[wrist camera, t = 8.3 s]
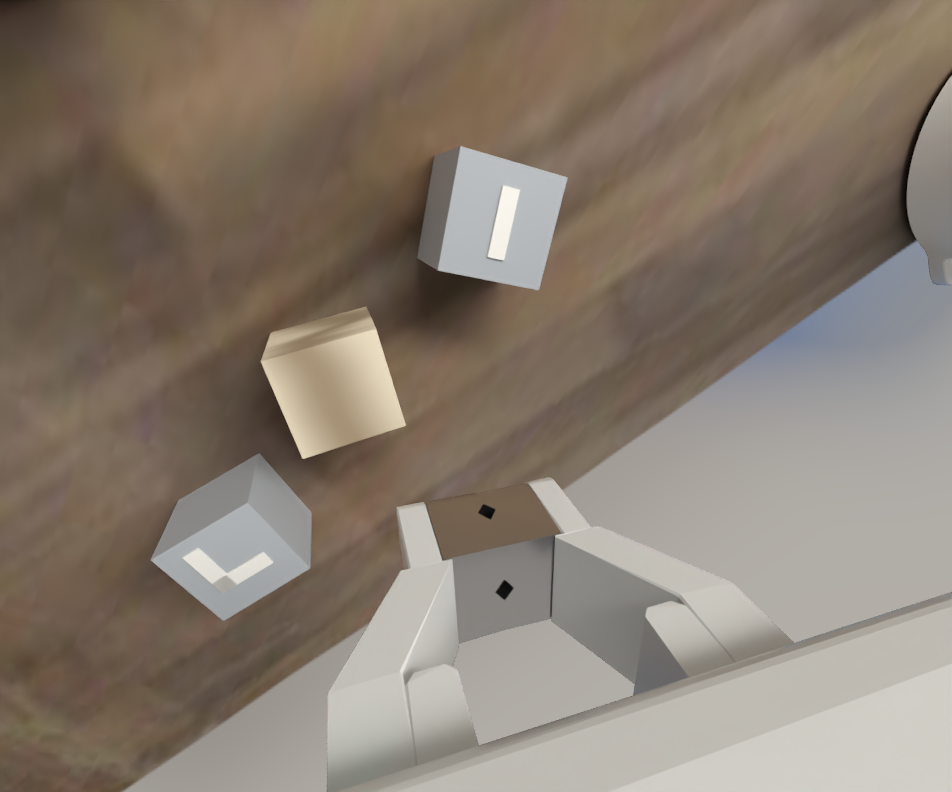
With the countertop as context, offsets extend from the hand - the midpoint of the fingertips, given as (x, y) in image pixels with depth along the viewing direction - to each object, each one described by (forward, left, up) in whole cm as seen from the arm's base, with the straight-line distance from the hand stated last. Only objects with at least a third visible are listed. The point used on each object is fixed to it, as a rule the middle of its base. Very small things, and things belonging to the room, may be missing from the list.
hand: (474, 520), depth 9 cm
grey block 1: (+8, +11, -19) cm, 23 cm away
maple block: (+2, +3, -19) cm, 19 cm away
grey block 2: (-6, -4, -19) cm, 20 cm away
